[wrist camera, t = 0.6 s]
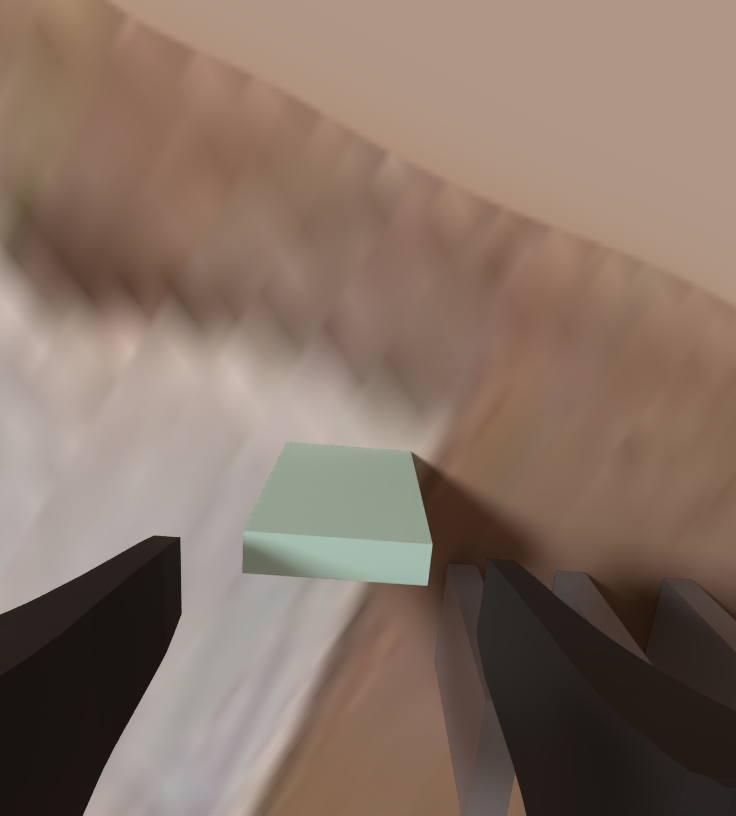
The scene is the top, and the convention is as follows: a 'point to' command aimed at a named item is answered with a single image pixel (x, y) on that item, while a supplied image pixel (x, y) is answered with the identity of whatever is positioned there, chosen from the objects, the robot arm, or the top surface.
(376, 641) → the top surface
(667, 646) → the domino
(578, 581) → the domino
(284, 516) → the green domino
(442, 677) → the domino
